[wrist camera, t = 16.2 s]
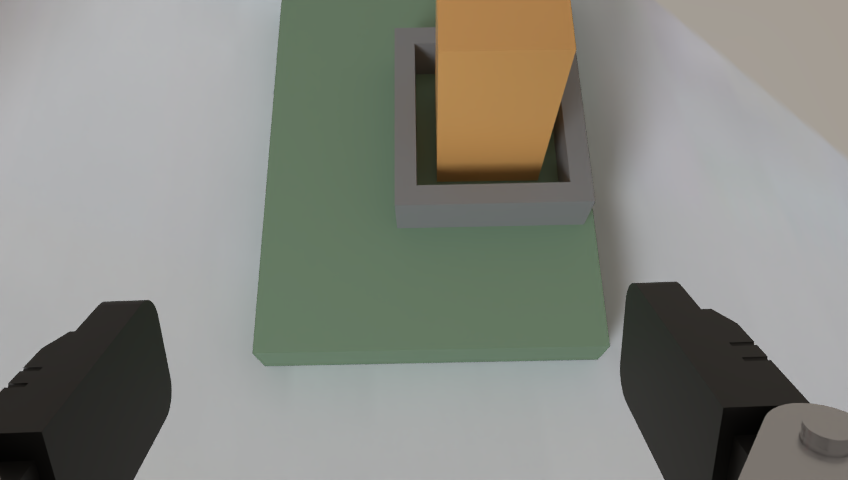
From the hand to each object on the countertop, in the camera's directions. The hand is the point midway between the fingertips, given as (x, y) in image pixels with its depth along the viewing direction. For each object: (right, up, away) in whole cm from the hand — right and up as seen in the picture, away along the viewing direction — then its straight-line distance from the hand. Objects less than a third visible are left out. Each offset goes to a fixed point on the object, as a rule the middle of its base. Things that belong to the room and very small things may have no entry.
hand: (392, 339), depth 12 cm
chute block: (+4, +7, +23) cm, 25 cm away
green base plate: (+1, +6, +26) cm, 26 cm away
